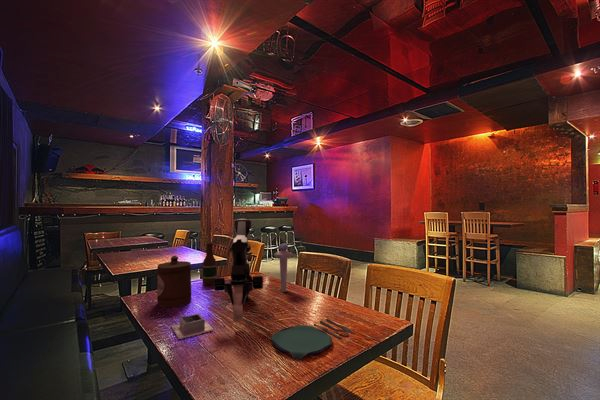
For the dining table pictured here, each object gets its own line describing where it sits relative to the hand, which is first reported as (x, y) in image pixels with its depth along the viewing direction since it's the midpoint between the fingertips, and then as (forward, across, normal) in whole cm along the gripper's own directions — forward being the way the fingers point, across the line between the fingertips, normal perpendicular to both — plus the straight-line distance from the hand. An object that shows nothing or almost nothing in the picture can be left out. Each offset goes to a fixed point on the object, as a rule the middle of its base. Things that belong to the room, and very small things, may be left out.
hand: (237, 304), depth 106 cm
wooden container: (-18, -32, +33) cm, 49 cm away
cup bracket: (+4, -17, +10) cm, 20 cm away
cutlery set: (+14, +26, +1) cm, 30 cm away
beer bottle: (-38, -20, +53) cm, 68 cm away
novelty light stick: (-24, +21, +39) cm, 50 cm away
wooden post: (+4, 0, +6) cm, 7 cm away
